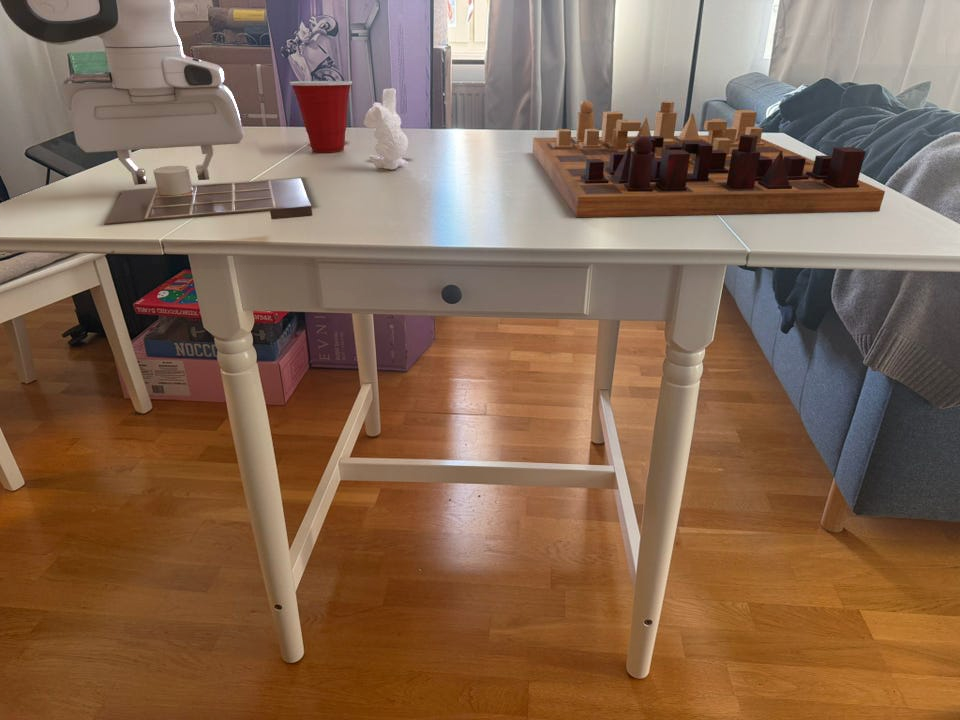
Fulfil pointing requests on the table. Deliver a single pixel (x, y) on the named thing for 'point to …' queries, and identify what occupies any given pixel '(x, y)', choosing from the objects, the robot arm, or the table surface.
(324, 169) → the table surface
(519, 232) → the table surface
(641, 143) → the gameboard
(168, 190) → the short white cylinder
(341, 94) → the plastic cup
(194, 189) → the board
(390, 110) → the white upright figurine
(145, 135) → the robot arm
